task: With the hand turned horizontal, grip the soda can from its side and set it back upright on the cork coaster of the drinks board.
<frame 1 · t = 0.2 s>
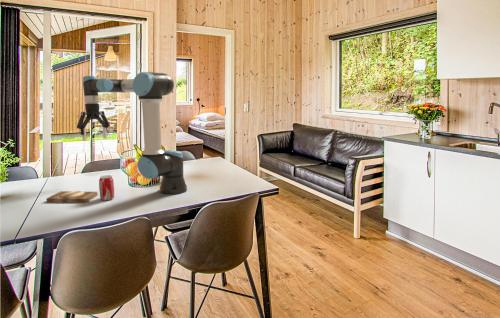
hand: (95, 139, 206), 27 cm above the table, tool pointing down, fingers open, 13 cm apart
drinks board: (73, 198, 181), on the table
soda can: (107, 199, 181), on the table
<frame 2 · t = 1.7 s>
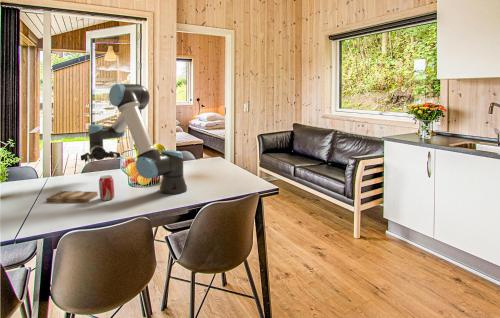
hand: (102, 159, 186), 20 cm above the table, tool horizontal, fingers open, 13 cm apart
nothing on the table moved.
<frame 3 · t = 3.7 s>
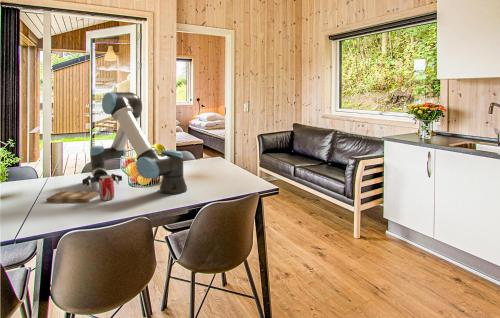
hand: (104, 183, 186), 7 cm above the table, tool horizontal, fingers open, 13 cm apart
nothing on the table moved.
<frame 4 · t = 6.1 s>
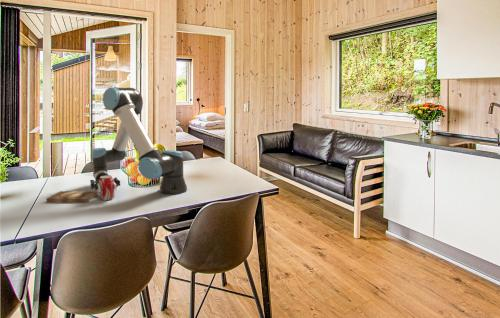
hand: (107, 188, 176), 7 cm above the table, tool horizontal, fingers closed on soda can, 7 cm apart
soda can: (107, 199, 181), on the table, touching gripper
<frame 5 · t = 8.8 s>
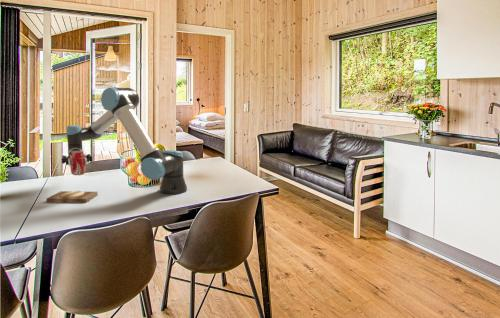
hand: (77, 162, 174), 20 cm above the table, tool horizontal, fingers closed on soda can, 7 cm apart
soda can: (78, 174, 180), point 13 cm above the table, touching gripper
when the fingers open (11 cm above the table, at t = 11.4 s): soda can drops 1 cm, resting on drinks board.
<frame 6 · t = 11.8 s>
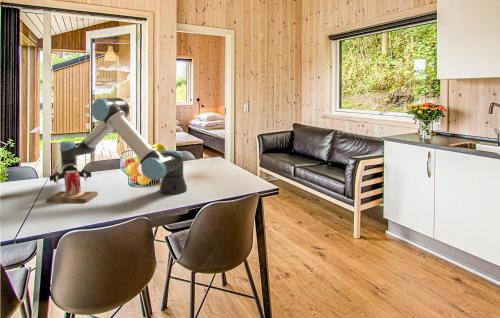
hand: (71, 179, 176), 11 cm above the table, tool horizontal, fingers open, 12 cm apart
soda can: (73, 194, 181), point 2 cm above the table, touching drinks board
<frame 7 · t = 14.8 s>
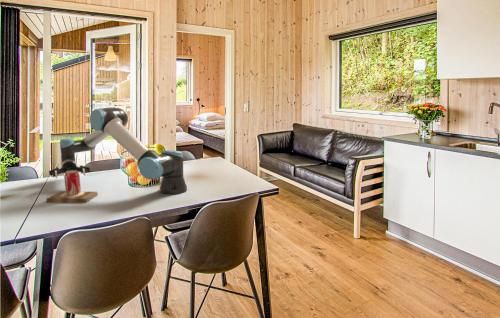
hand: (70, 174, 188), 11 cm above the table, tool horizontal, fingers open, 13 cm apart
nothing on the table moved.
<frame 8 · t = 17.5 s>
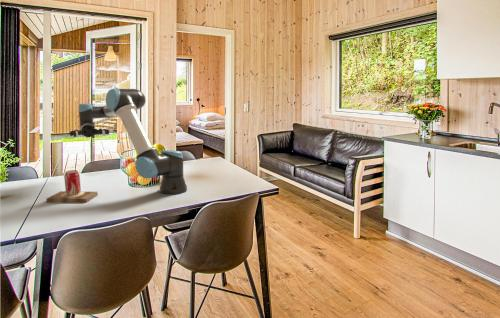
hand: (91, 134, 191), 32 cm above the table, tool horizontal, fingers open, 13 cm apart
nothing on the table moved.
at the end: soda can inside the target area on the drinks board (0.4 cm from its centre), point 2.3 cm above the drinks board's base; soda can tilted 0°; the gripper is holding nothing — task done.
